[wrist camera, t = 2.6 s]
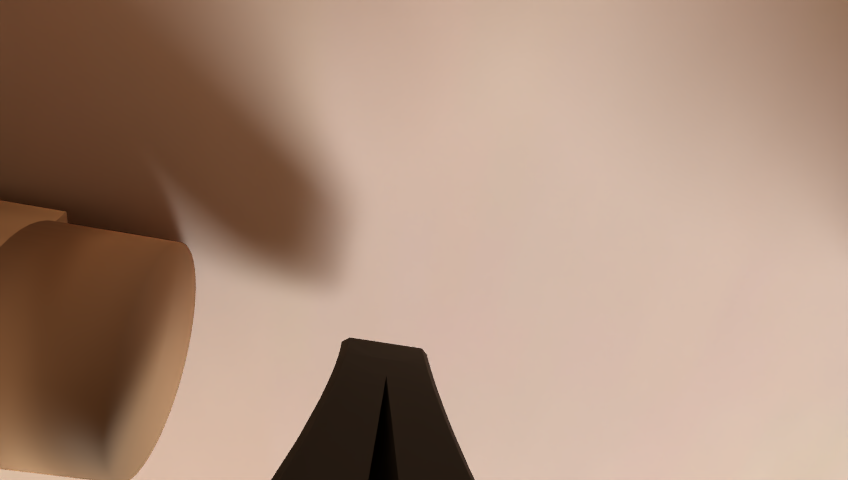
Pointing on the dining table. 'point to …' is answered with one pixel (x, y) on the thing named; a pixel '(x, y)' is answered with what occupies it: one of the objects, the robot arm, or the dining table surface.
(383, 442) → the robot arm
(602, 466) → the dining table surface
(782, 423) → the dining table surface
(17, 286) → the walnut knob
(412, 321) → the dining table surface
